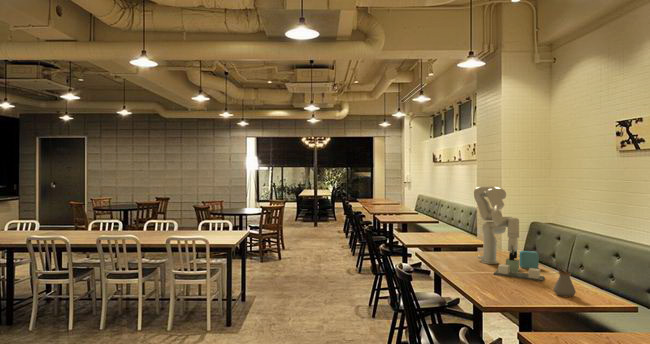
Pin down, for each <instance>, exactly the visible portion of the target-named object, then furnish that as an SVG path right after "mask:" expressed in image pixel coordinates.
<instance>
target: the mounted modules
mask: <svg viewBox="0 0 650 344" xmlns="http://www.w3.org/2000/svg"><path fill="white" fill-rule="evenodd" d="M497 269H498V273H502V274H508V273H509V272H510V265H506V263H505V264H504V263H500V264H498V267H497ZM527 274H528V277H529V278H536V279H539V277H540V276H541V268H540V269H539V268H537V269H535V268H528V273H527Z"/></svg>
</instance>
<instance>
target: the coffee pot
mask: <svg viewBox="0 0 650 344" xmlns="http://www.w3.org/2000/svg"><path fill="white" fill-rule="evenodd" d="M554 267H556V268H557V271H558V274H559V277H558V278H557V281H556V282H555V284H554V287H552V288H553V289H552V290H553V292H554V293H555V294H556V295H557V294H558V295H557V296H559V295H562V296H561V297H563V296H574V295H576V288H575V286H574V284H573V281H572V279H571V275H572V273H571V272H567V271H561V269H560V267H559V264H557V263H555V264H554Z"/></svg>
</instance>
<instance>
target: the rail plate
mask: <svg viewBox="0 0 650 344" xmlns="http://www.w3.org/2000/svg"><path fill="white" fill-rule="evenodd" d="M494 275H495V276H501V277H507V278H508V277H509V278H513V279H520V280H527V281H534V282H540V283H541V282H543V281H544V280H545V275H540V277H539V279H536V278H529V277H528V273H527V272H512V271H510V272H509V273H508V274H502V273H498V268H497V269H496V271H494V272H493V276H494Z"/></svg>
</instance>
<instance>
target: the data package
mask: <svg viewBox="0 0 650 344" xmlns="http://www.w3.org/2000/svg"><path fill="white" fill-rule="evenodd" d="M539 256H540V254H539V252H537V251H533V250H532V251H531V250H521V251H519V267H521V268H522V269H530V268H535V269H539V261H540V257H539Z"/></svg>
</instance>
